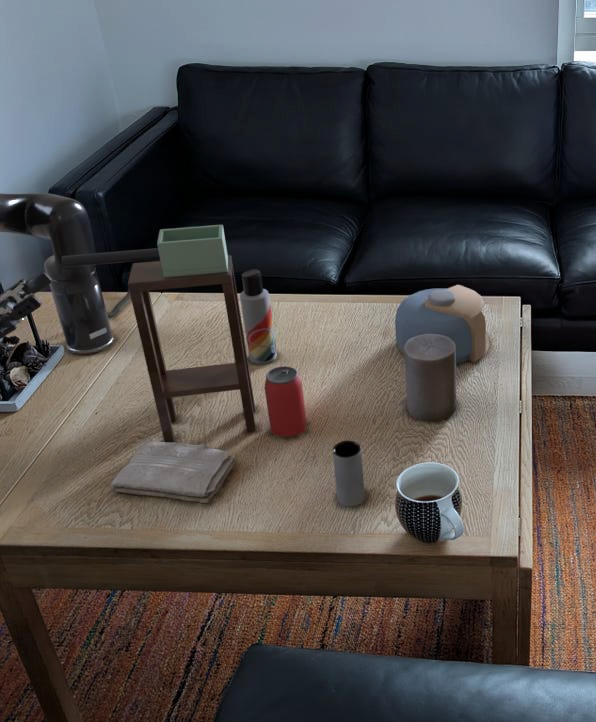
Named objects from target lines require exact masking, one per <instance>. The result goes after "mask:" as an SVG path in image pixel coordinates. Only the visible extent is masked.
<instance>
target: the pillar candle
mask: <svg viewBox="0 0 596 722" xmlns="http://www.w3.org/2000/svg"><path fill="white" fill-rule="evenodd" d="M403 354H404V370H405V371H404V372H405V373H404V374H405V396H406V398H405V399H406V409H407V411H408V413H409V415H411V416H412V417H413V418H414V419H417V420H419V421H425V422H437V421H441V420H443V419H446V418H449V417H451V416H452V415H454V413H455V412H456V410H457V363H456V346H455V343H454V342H453V341H452V340H451V339H450V338H448V337H446V336H443V335H438V334H424V335H419V336H416V337H413V338H411V339H409V340H408V341H407V342H406V344H405V345H404V353H403Z"/></svg>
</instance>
